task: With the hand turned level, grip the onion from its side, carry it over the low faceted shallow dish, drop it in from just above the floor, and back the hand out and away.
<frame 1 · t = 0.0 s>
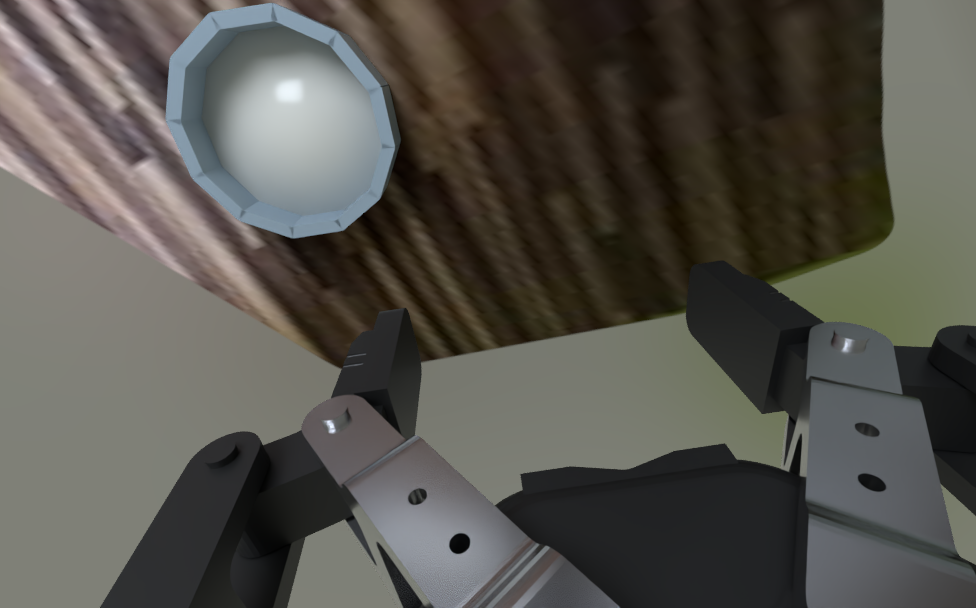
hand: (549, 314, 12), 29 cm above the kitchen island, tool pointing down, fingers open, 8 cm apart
faceted shallow dish: (300, 128, 36), on the kitchen island
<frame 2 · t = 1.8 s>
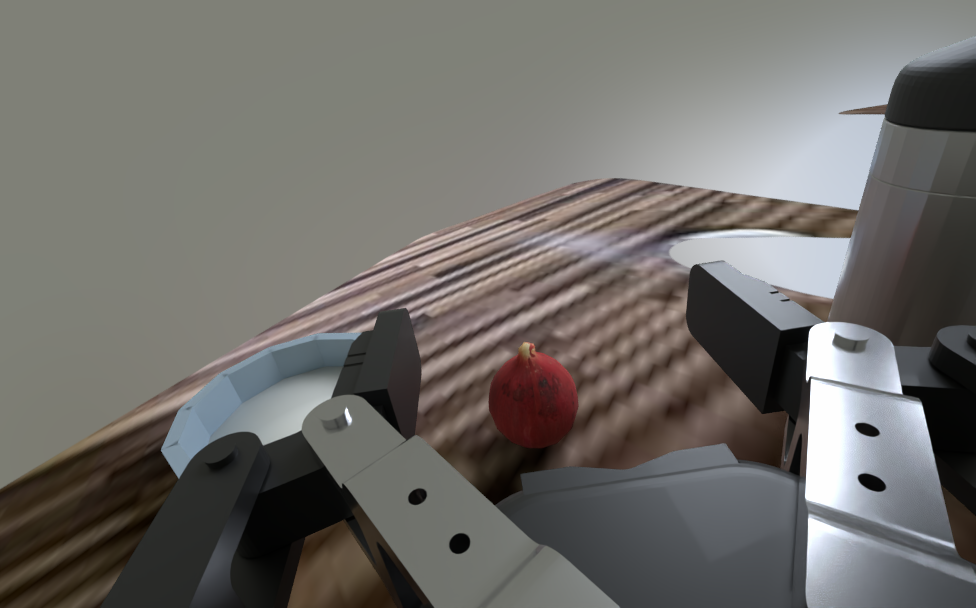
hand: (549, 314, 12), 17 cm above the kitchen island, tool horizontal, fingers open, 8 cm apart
faceted shallow dish: (305, 431, 35), on the kitchen island
onion: (538, 442, 30), on the kitchen island
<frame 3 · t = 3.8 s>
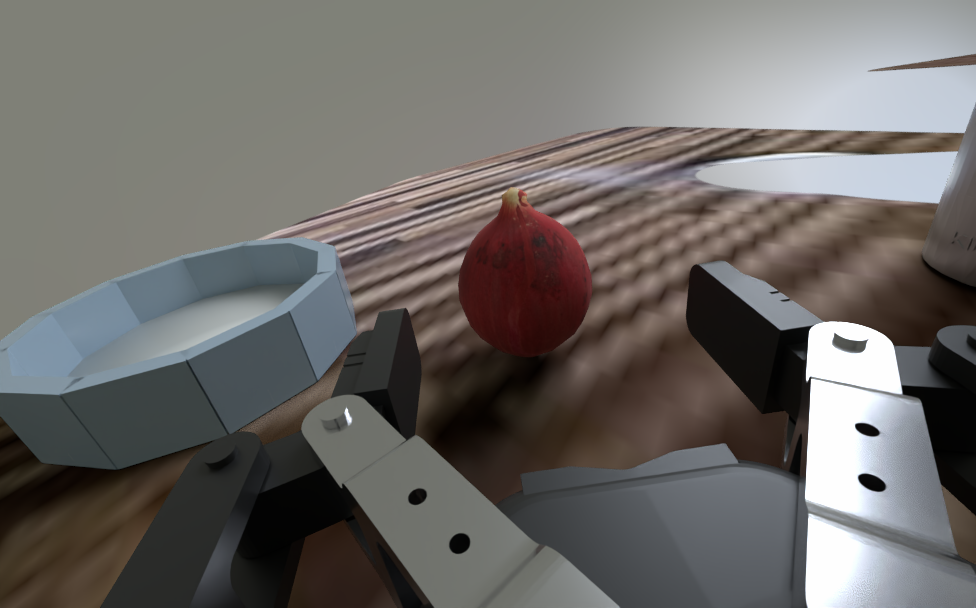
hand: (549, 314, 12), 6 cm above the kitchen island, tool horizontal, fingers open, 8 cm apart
faceted shallow dish: (215, 354, 25), on the kitchen island
onion: (532, 358, 21), on the kitchen island
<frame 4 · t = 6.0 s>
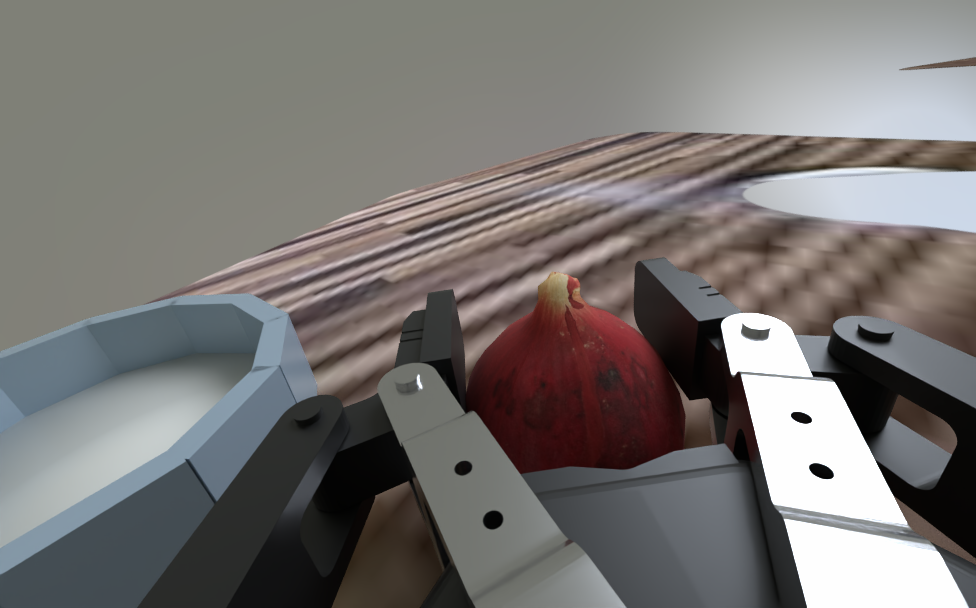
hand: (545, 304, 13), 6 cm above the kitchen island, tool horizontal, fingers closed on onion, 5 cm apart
faceted shallow dish: (114, 474, 18), on the kitchen island
onion: (574, 514, 14), on the kitchen island, touching gripper
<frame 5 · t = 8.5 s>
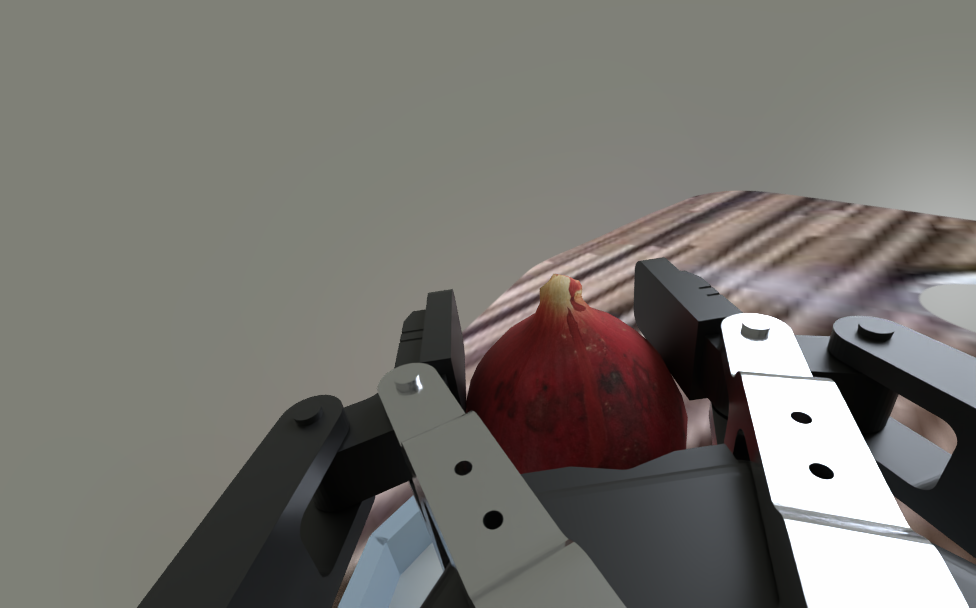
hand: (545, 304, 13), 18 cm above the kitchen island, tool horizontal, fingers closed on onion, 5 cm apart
onion: (576, 516, 14), point 12 cm above the kitchen island, touching gripper
when the fingers open (9 cm above the kitchen island, at t = 10.9 s): onion drops 2 cm, resting on faceted shallow dish.
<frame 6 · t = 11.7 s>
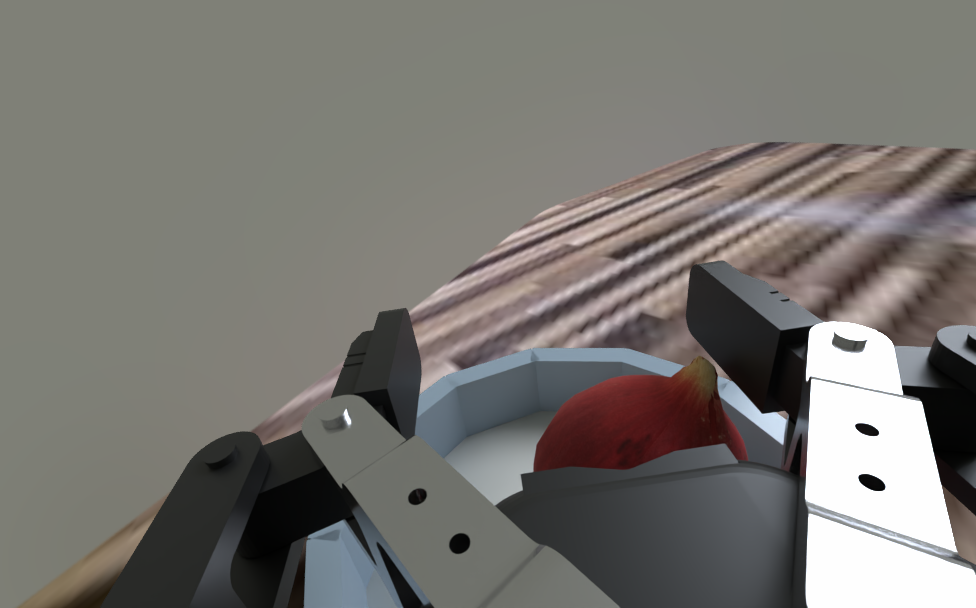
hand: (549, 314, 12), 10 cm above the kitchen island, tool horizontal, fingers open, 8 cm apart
faceted shallow dish: (578, 574, 15), on the kitchen island
onion: (583, 556, 14), point 1 cm above the kitchen island, touching gripper, faceted shallow dish
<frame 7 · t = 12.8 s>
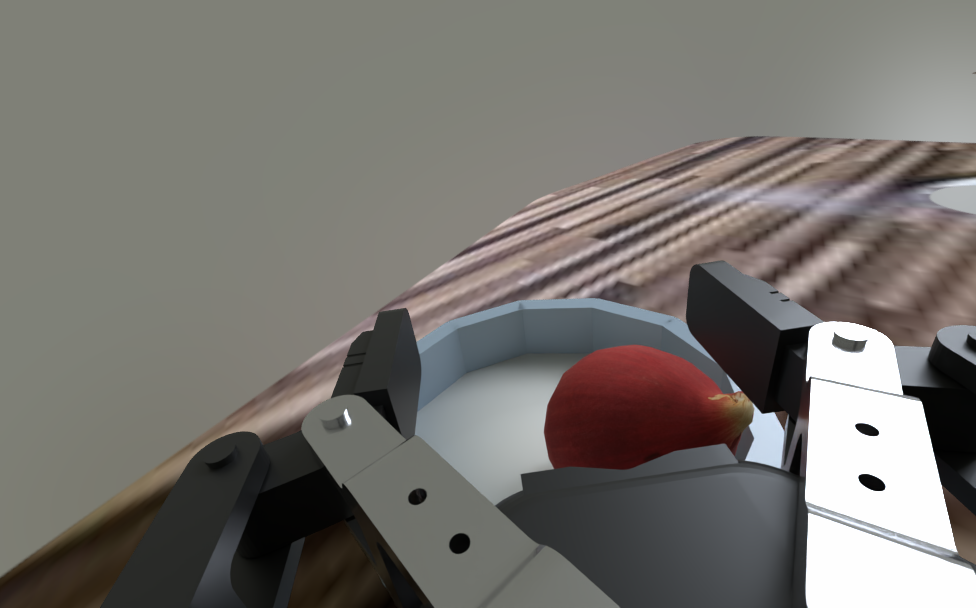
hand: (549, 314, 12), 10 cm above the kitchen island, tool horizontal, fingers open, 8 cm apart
faceted shallow dish: (553, 463, 20), on the kitchen island
onion: (560, 437, 18), point 2 cm above the kitchen island, touching faceted shallow dish
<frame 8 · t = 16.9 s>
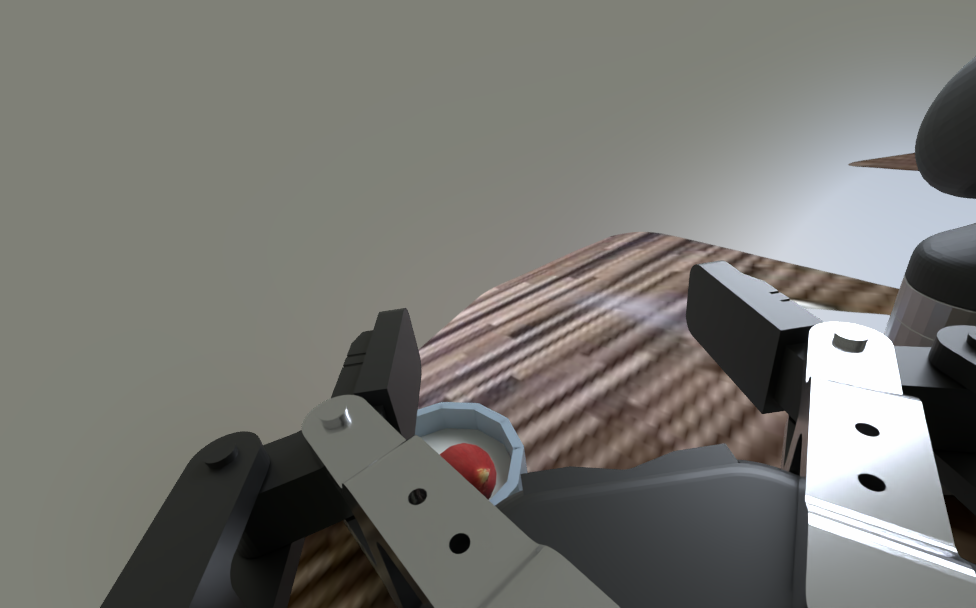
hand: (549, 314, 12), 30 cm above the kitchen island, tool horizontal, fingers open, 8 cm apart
faceted shallow dish: (446, 487, 44), on the kitchen island
onion: (445, 476, 43), point 2 cm above the kitchen island, touching faceted shallow dish
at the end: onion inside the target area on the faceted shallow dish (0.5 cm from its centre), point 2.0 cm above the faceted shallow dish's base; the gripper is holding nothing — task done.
